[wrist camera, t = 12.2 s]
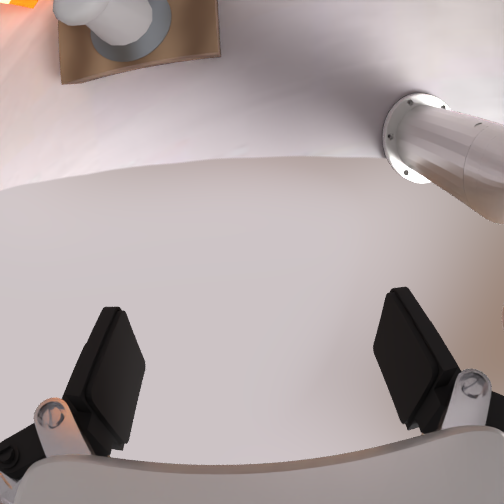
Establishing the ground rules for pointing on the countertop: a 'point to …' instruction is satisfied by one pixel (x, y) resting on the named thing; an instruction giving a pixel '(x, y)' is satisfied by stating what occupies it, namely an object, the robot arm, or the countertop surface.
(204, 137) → the countertop surface
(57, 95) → the countertop surface
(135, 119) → the countertop surface
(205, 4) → the walnut stand
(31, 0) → the orange juice
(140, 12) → the salt shaker
